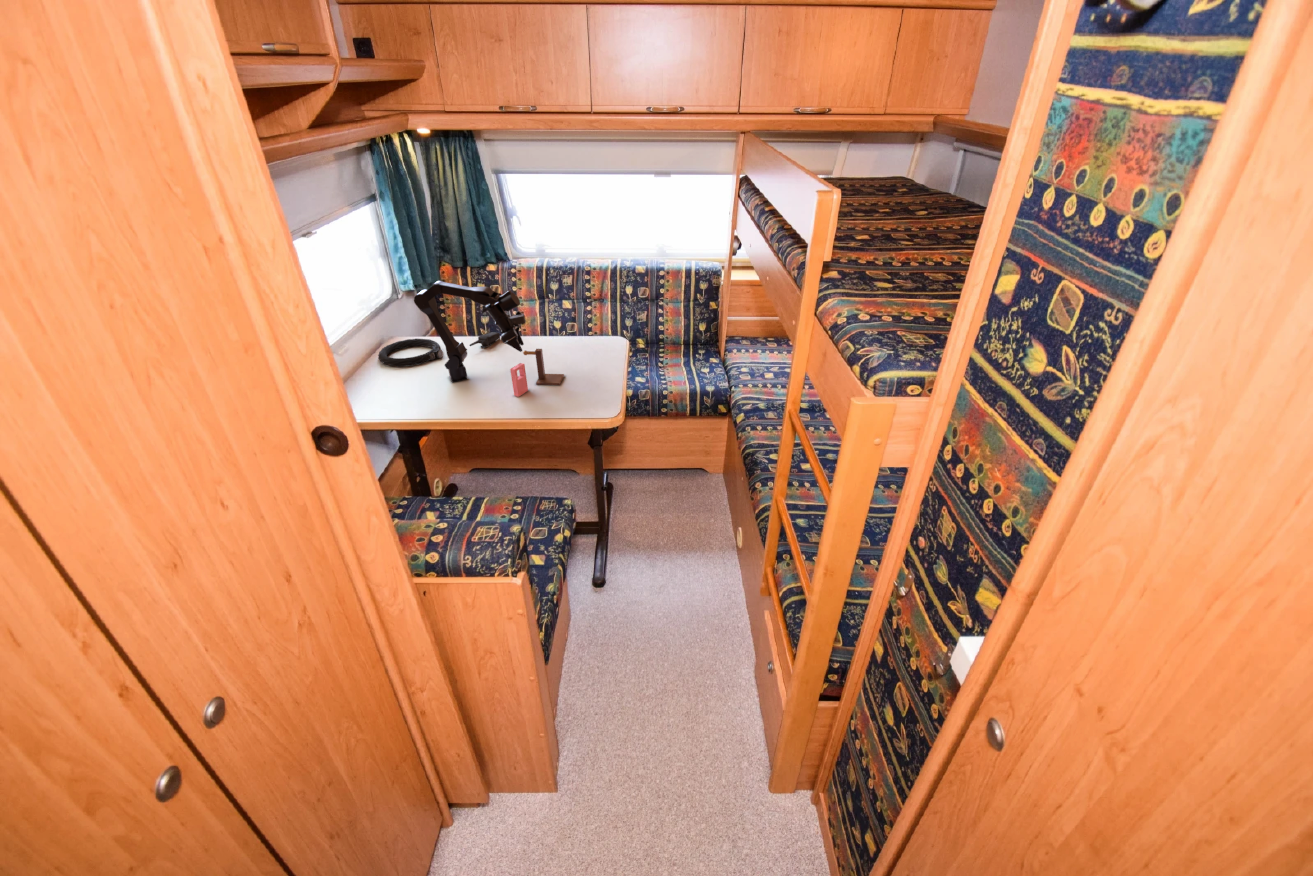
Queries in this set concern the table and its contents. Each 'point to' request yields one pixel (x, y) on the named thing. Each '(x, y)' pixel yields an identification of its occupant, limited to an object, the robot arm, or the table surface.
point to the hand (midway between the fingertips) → (522, 348)
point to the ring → (411, 360)
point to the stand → (542, 377)
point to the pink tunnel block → (519, 379)
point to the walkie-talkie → (487, 339)
